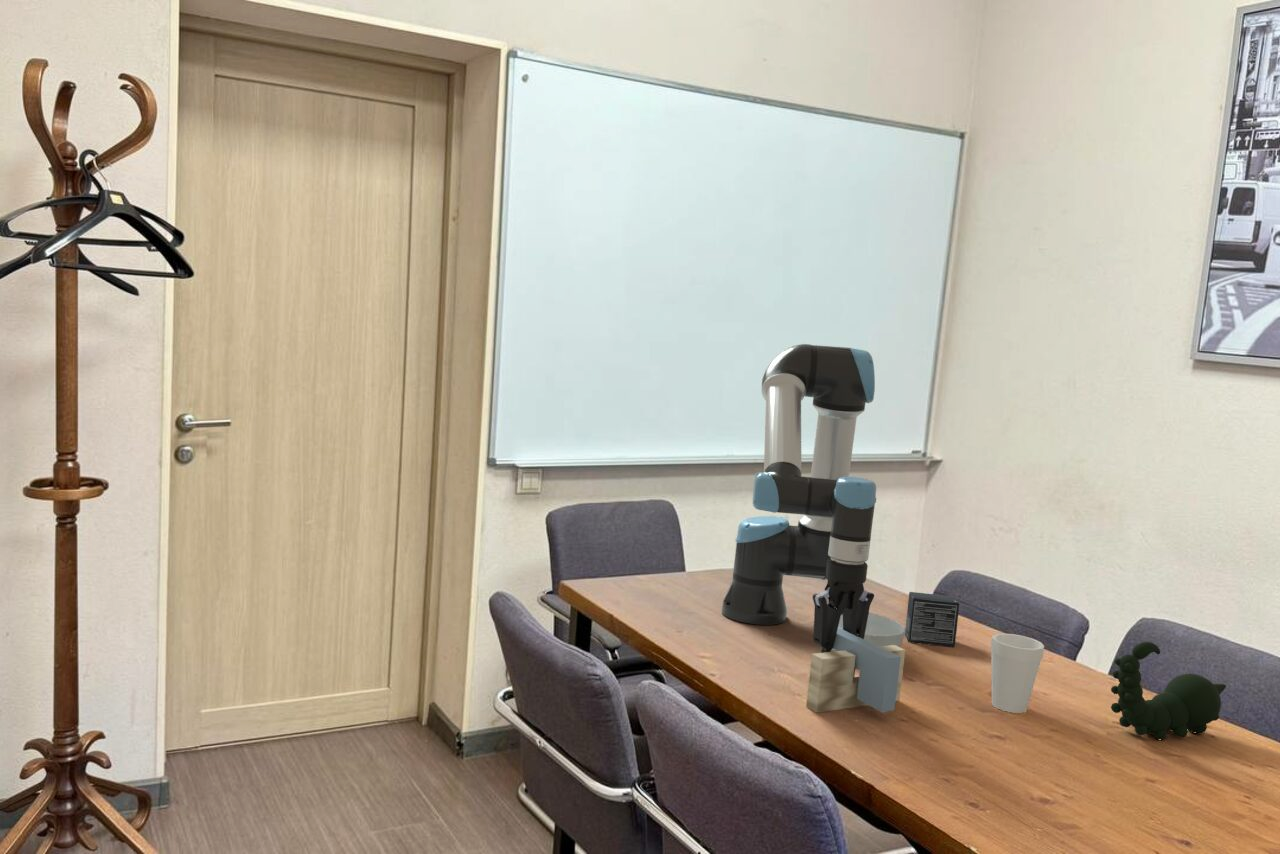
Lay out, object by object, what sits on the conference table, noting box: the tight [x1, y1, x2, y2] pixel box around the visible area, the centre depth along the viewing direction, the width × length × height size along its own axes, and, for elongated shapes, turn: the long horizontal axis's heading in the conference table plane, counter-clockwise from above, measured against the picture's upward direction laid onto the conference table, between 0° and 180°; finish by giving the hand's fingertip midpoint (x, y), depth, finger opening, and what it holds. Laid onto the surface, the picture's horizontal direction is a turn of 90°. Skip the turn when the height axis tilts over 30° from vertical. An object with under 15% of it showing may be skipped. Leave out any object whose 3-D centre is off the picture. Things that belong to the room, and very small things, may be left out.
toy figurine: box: [1110, 641, 1227, 741], centre depth 198 cm, size 9×19×25 cm
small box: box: [904, 591, 961, 648], centre depth 244 cm, size 11×6×10 cm, turn 84°
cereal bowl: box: [838, 612, 906, 648], centre depth 230 cm, size 17×17×7 cm
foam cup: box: [989, 633, 1045, 714], centre depth 205 cm, size 10×9×13 cm
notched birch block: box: [805, 645, 906, 714], centre depth 199 cm, size 20×3×10 cm, turn 120°
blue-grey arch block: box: [820, 628, 901, 713], centre depth 199 cm, size 18×3×10 cm, turn 30°
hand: (834, 679), depth 205 cm, fingers closed on blue-grey arch block, 3 cm apart
